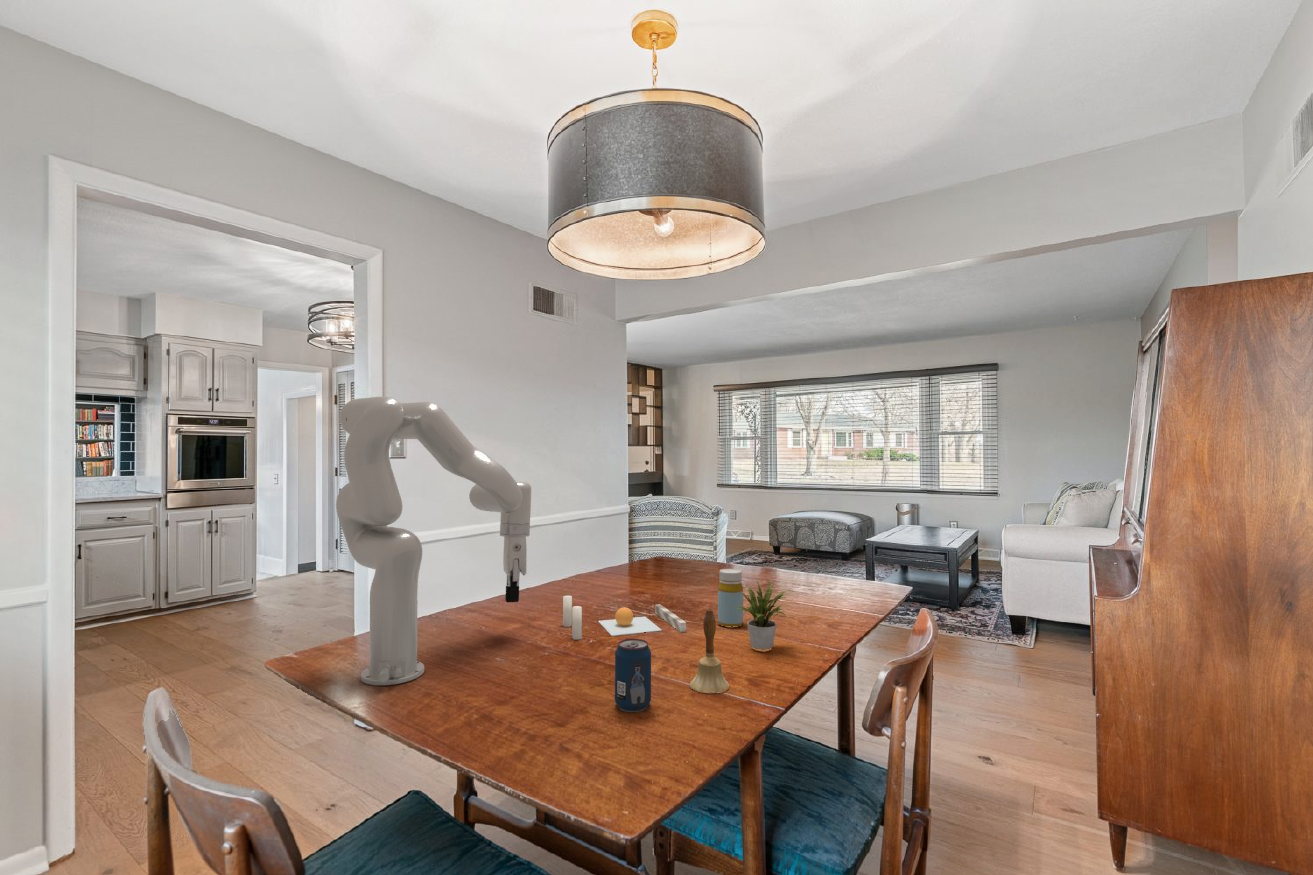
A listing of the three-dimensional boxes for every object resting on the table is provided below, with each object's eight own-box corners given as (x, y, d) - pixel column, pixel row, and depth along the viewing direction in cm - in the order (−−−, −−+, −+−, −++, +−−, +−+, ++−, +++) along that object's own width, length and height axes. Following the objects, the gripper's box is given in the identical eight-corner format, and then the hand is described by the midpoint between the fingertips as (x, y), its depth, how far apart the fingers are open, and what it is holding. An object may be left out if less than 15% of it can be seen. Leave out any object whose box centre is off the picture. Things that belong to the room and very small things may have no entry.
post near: (582, 639, 159) (582, 607, 159) (573, 640, 158) (573, 608, 158) (580, 636, 161) (580, 605, 161) (571, 637, 160) (571, 606, 160)
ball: (633, 629, 169) (637, 611, 170) (616, 626, 168) (620, 608, 168) (627, 624, 174) (631, 607, 174) (611, 621, 172) (615, 603, 173)
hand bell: (731, 694, 124) (731, 615, 124) (690, 694, 124) (690, 614, 125) (727, 679, 133) (728, 604, 133) (688, 678, 133) (689, 603, 133)
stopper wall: (686, 631, 166) (686, 622, 166) (680, 632, 165) (680, 623, 165) (660, 612, 185) (660, 604, 185) (655, 613, 184) (655, 604, 184)
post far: (572, 626, 170) (572, 597, 170) (563, 627, 169) (564, 597, 169) (570, 623, 172) (570, 595, 172) (562, 624, 172) (562, 595, 172)
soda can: (631, 695, 124) (631, 635, 124) (658, 705, 119) (658, 642, 119) (607, 706, 118) (607, 643, 118) (634, 717, 114) (634, 651, 114)
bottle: (742, 621, 176) (742, 568, 176) (743, 629, 169) (743, 573, 169) (717, 620, 176) (718, 568, 176) (717, 628, 169) (718, 573, 169)
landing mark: (661, 630, 167) (661, 630, 167) (611, 636, 162) (611, 635, 162) (644, 617, 180) (644, 616, 180) (598, 621, 175) (598, 620, 175)
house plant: (793, 662, 143) (793, 591, 143) (733, 658, 145) (733, 588, 146) (792, 643, 157) (792, 578, 157) (737, 639, 159) (737, 575, 160)
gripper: (534, 533, 155) (531, 607, 154) (525, 526, 169) (522, 594, 168) (503, 533, 152) (500, 608, 151) (497, 526, 166) (494, 596, 165)
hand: (511, 601), depth 159 cm, fingers closed
